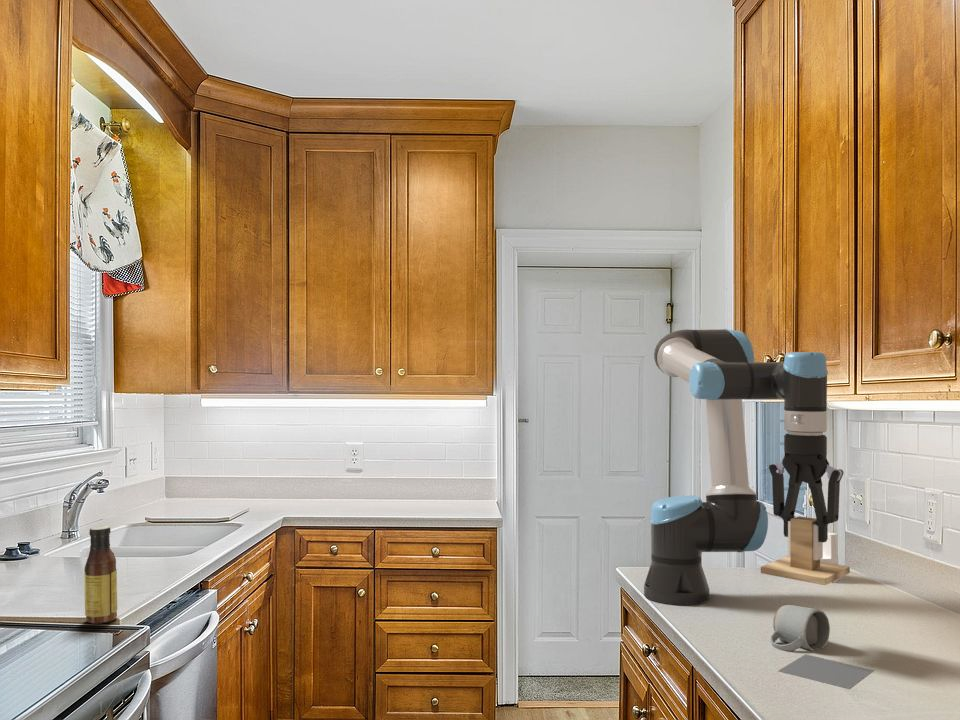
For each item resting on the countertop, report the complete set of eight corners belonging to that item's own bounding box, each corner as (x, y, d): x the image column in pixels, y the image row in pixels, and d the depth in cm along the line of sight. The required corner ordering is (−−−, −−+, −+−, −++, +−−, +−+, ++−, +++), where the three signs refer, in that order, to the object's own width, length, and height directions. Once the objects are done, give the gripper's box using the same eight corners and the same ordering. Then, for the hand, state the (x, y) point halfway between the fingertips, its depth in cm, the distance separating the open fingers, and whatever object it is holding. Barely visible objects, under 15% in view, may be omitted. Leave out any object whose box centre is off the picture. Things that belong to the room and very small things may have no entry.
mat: (805, 657, 150) (805, 654, 150) (874, 673, 141) (874, 670, 141) (777, 673, 141) (777, 670, 141) (849, 692, 133) (849, 688, 133)
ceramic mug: (794, 636, 162) (793, 597, 162) (831, 647, 155) (830, 607, 155) (759, 647, 156) (758, 606, 156) (796, 659, 149) (795, 617, 149)
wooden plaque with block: (787, 562, 162) (787, 510, 162) (849, 573, 153) (849, 519, 153) (760, 573, 153) (760, 519, 153) (825, 585, 145) (825, 528, 145)
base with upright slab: (845, 579, 209) (844, 532, 209) (826, 584, 204) (825, 536, 204) (813, 572, 216) (812, 527, 217) (793, 577, 211) (793, 531, 211)
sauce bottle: (105, 614, 176) (106, 523, 177) (123, 619, 173) (124, 525, 174) (77, 622, 171) (78, 527, 171) (95, 627, 168) (96, 530, 168)
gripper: (753, 431, 157) (753, 552, 157) (844, 437, 145) (844, 568, 145) (770, 429, 162) (770, 546, 162) (859, 434, 150) (859, 561, 150)
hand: (805, 556), depth 153 cm, fingers closed on wooden plaque with block, 4 cm apart
